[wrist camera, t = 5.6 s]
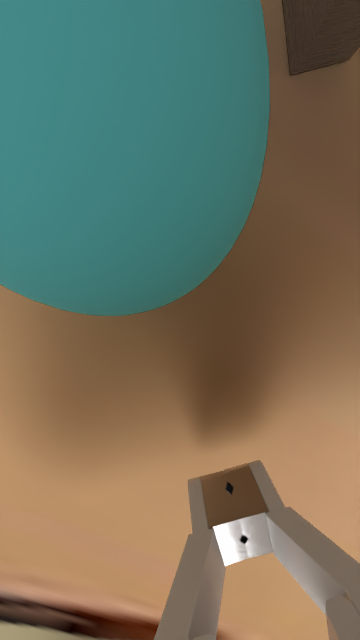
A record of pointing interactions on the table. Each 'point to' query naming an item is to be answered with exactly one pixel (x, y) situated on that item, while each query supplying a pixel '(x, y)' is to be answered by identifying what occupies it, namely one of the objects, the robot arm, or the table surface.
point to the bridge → (320, 32)
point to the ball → (127, 146)
